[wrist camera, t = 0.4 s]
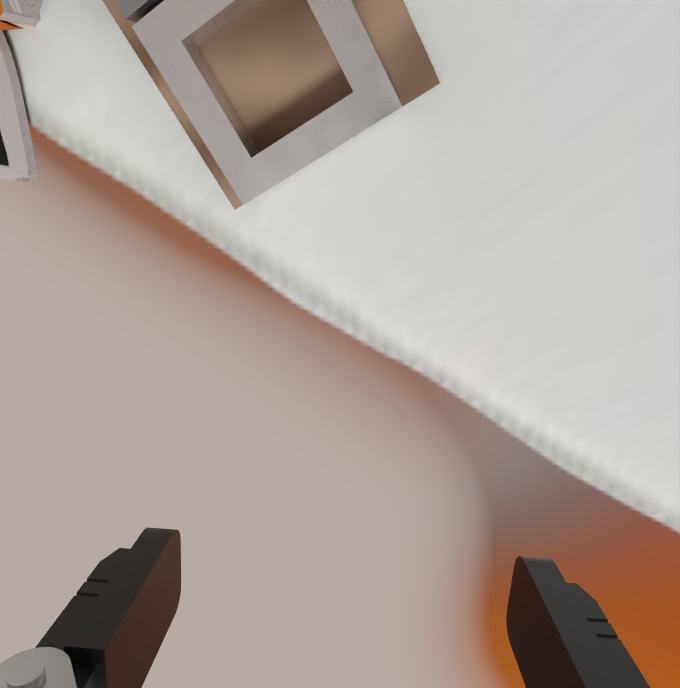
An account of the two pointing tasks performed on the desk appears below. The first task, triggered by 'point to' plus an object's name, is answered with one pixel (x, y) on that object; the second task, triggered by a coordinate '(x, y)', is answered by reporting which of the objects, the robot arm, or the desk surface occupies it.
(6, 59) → the toy gun
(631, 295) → the desk surface
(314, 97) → the walnut board
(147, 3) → the grey square ring
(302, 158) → the wide steel port
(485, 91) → the desk surface
